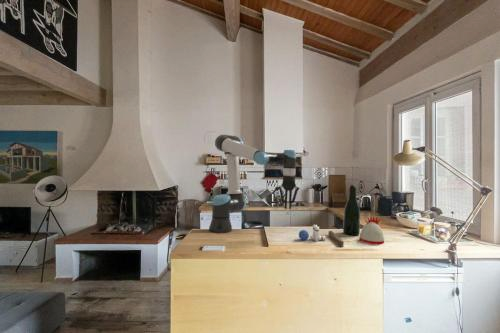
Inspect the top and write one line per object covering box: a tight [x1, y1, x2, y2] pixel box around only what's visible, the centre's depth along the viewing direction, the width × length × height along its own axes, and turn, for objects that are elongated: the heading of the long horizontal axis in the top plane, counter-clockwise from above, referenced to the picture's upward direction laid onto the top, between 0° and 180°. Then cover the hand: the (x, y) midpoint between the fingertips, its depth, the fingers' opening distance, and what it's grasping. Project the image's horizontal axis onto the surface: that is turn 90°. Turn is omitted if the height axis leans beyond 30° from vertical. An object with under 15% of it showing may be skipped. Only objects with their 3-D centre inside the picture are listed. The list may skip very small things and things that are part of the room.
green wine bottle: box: [342, 184, 361, 236], centre depth 185 cm, size 10×10×33 cm
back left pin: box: [312, 224, 318, 236], centre depth 170 cm, size 2×2×8 cm
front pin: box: [310, 235, 326, 241], centre depth 167 cm, size 2×2×8 cm
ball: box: [298, 229, 310, 241], centre depth 166 cm, size 6×6×6 cm
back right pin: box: [313, 226, 320, 243], centre depth 165 cm, size 2×2×8 cm
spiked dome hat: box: [359, 216, 385, 245], centre depth 169 cm, size 14×14×15 cm
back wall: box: [328, 230, 344, 248], centre depth 167 cm, size 2×24×3 cm, turn 179°
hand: (287, 214), depth 168 cm, fingers closed
